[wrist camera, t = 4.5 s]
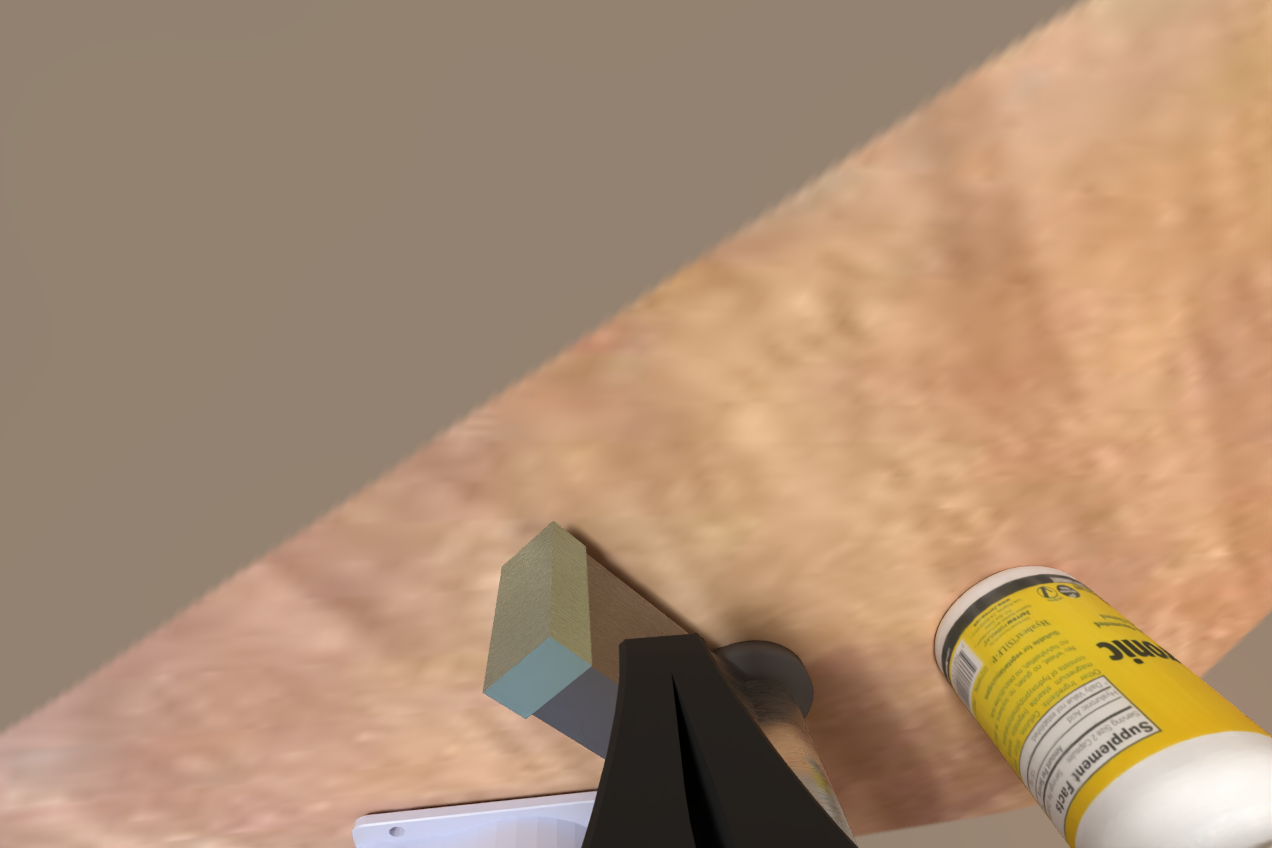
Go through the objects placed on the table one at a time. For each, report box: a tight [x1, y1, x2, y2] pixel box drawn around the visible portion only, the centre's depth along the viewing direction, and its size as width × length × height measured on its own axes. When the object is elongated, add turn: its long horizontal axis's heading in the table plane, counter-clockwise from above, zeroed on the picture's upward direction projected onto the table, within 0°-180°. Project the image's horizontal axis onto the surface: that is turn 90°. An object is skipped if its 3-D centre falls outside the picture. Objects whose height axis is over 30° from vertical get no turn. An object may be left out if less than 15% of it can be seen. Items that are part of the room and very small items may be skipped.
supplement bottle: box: [935, 566, 1272, 848], centre depth 16 cm, size 5×5×10 cm
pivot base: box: [713, 641, 813, 719], centre depth 20 cm, size 4×4×1 cm
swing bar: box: [483, 521, 858, 847], centre depth 16 cm, size 11×3×5 cm, turn 43°
